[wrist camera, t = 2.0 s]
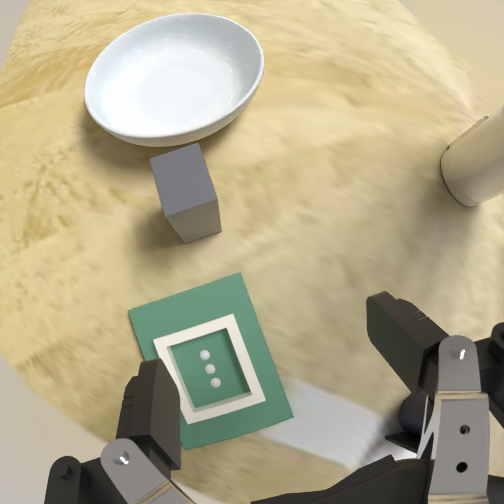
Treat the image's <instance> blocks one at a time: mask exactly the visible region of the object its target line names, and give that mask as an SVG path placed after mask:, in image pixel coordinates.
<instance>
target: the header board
mask: <svg viewBox="0 0 504 504" xmlns="http://www.w3.org/2000/svg"><path fill="white" fill-rule="evenodd" d="M128 312H129V315H130V318H131V322H132V325H133V328H134V331H135V333H136V336H137V339H138V342H139V345H140V348H141V350H142V353H143V356H144V358H145V361H147V360H152V359H157V358H161V359H162V360H163V362H164V364H165V366H166V367H167V369H168V371H169V373H170V375H171V376H172V378H173V380H174V382H175V384H176V385H177V388H178V391H179V394H180V441H181V443H182V445H183V447H184V449H185V450H188V449H193V448H197V447H201V446H205V445H209V444H213V443H217V442H220V441H224V440H227V439H231V438H234V437H238V436H241V435H244V434H247V433H250V432H254V431H257V430H260V429H263V428H265V427H268V426H271V425H274V424H277V423H280V422H282V421H285V420H288V419H290V418H293V417H294V416H293V414H292V411H291V408H290V406H289V403H288V400H287V398H286V395H285V393H284V390H283V387H282V385H281V382H280V379H279V377H278V374H277V371H276V369H275V366H274V363H273V360H272V358H271V355H270V352H269V350H268V347H267V344H266V341H265V339H264V336H263V333H262V331H261V328H260V325H259V322H258V320H257V317H256V314H255V311H254V309H253V306H252V303H251V300H250V297H249V295H248V292H247V289H246V286H245V284H244V281H243V278H242V275H241V272H240V273H237V274H234V275H231V276H228V277H225V278H222V279H219V280H217V281H214V282H211V283H208V284H205V285H202V286H199V287H196V288H193V289H190V290H187V291H184V292H181V293H178V294H175V295H173V296H170V297H167V298H164V299H161V300H158V301H155V302H152V303H149V304H146V305H143V306H140V307H137V308H134V309H131V310H128Z"/></svg>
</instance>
